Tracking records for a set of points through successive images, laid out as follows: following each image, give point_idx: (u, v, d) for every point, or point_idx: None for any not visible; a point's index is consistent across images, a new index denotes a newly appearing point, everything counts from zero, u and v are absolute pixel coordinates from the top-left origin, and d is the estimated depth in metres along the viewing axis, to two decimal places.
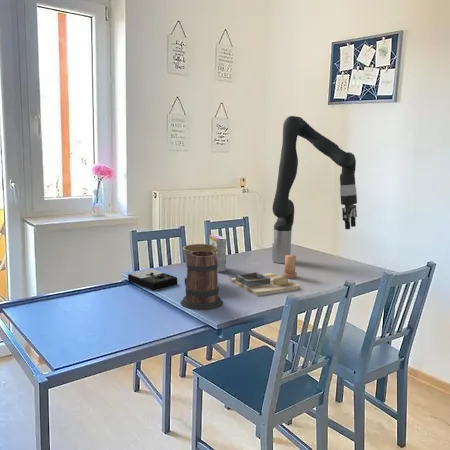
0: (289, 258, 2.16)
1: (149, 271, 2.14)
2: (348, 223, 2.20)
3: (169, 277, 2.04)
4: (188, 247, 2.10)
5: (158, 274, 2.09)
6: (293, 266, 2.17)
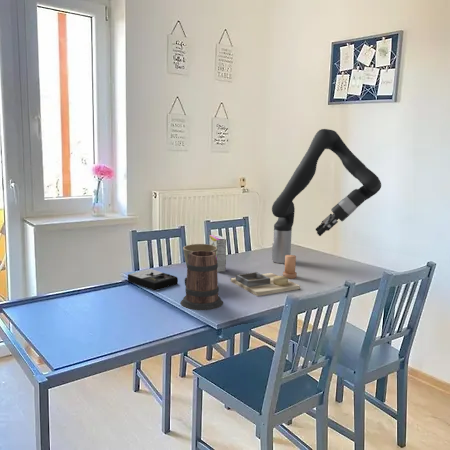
0: (289, 258, 2.16)
1: (148, 271, 2.13)
2: (324, 231, 2.09)
3: (169, 277, 2.05)
4: (188, 247, 2.10)
5: (158, 274, 2.09)
6: (293, 266, 2.17)
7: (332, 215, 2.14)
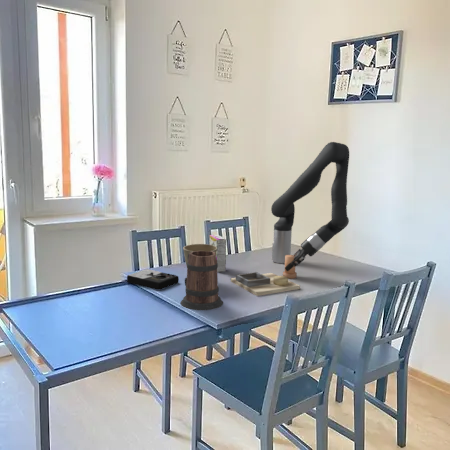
0: (289, 258, 2.16)
1: (146, 271, 2.13)
2: (291, 267, 2.15)
3: (170, 276, 2.06)
4: (188, 247, 2.10)
5: (157, 273, 2.09)
6: None
7: (301, 250, 2.18)
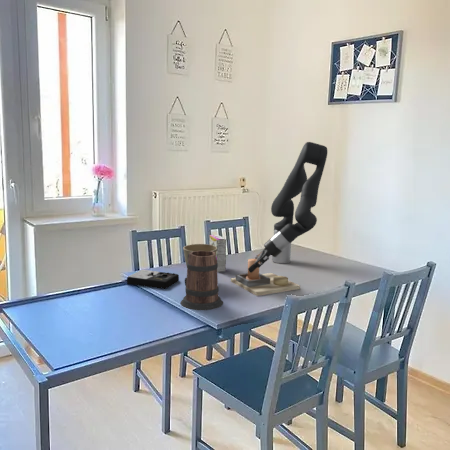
0: (252, 262, 2.01)
1: (143, 271, 2.12)
2: (255, 268, 1.99)
3: (171, 275, 2.08)
4: (188, 247, 2.10)
5: (156, 273, 2.10)
6: (256, 271, 2.02)
7: (265, 250, 2.03)
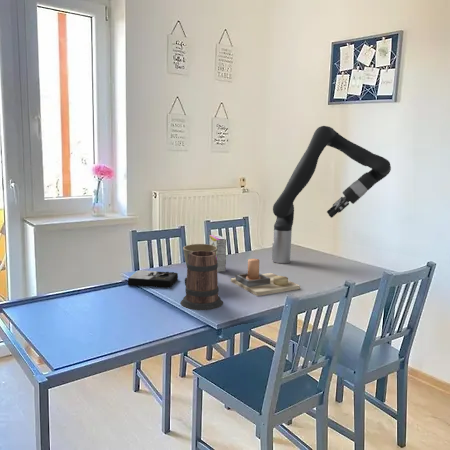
0: (252, 262, 2.01)
1: (141, 272, 2.11)
2: (335, 213, 2.17)
3: (171, 274, 2.09)
4: (188, 247, 2.10)
5: (155, 273, 2.10)
6: (256, 271, 2.02)
7: (343, 198, 2.21)
